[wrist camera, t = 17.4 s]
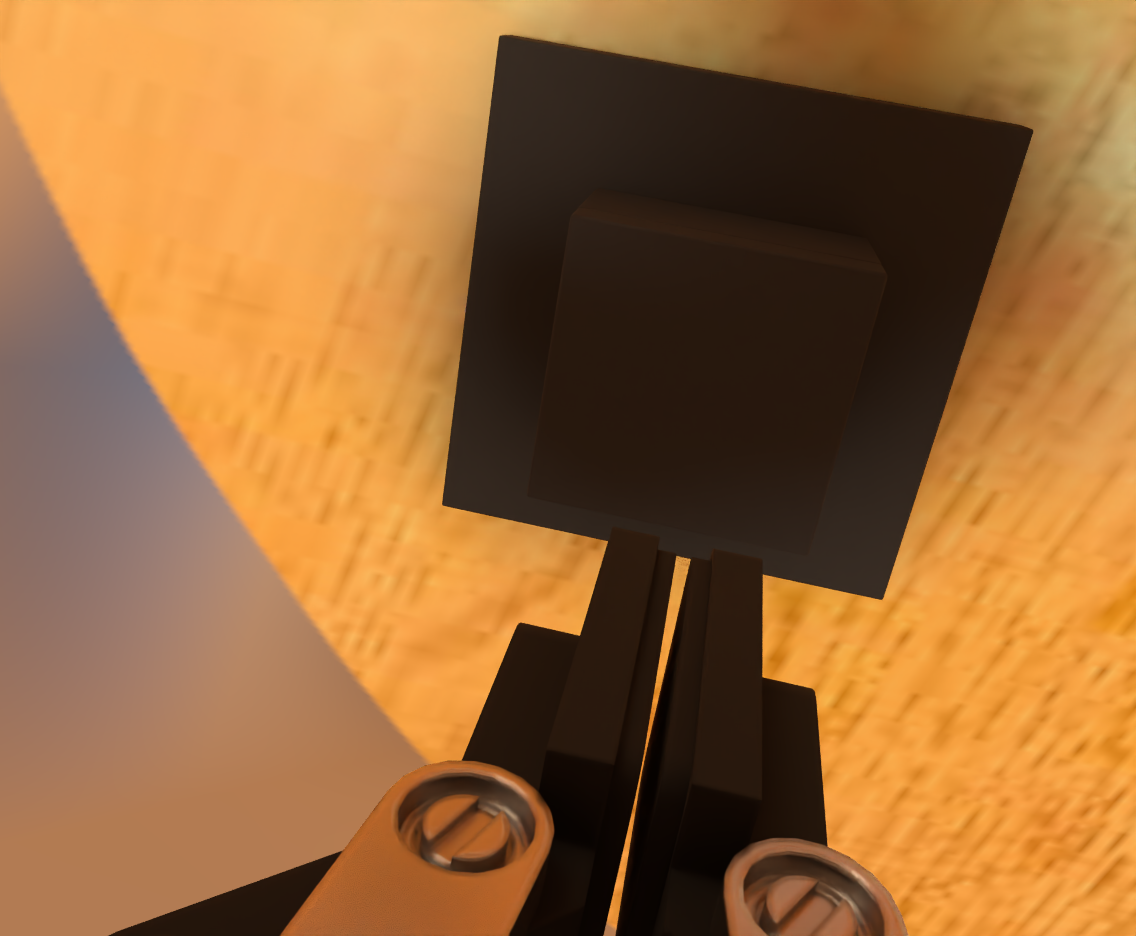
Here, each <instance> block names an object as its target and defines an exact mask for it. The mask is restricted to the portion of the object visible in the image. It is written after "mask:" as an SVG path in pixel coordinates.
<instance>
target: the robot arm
mask: <svg viewBox="0 0 1136 936" xmlns="http://www.w3.org/2000/svg"><path fill="white" fill-rule="evenodd" d="M659 540H660V537H659V536H654V535H650V534H645V533H640V532H636V531H631V530H627V529H622V528H617V527H613V528H612V531H611V534H610V537H609V541H608V544H607V547H606V551H605V554H604V558H603V561H602V564H601V568H600V571H599V574H598V578H597V581H596V584H595V588H594V591H593V594H592V598H591V601H590V604H589V608H588V611H587V614H586V618H585V621H584V624H583V628H582V631H581V635H580V636H578V635H574V634H569V633H565V632H560V631H556V630H552V629H547V628H543V627H538V626H534V625H529V624H525V623H519V624H518V625H517V627H516V629H515V631H514V634H513V636H512V639H511V641H510V644H509V646H508V649H507V651H506V654H505V656H504V658H503V661H502V663H501V666H500V668H499V671H498V673H497V676H496V678H495V680H494V683H493V685H492V688H491V690H490V693H489V695H488V698H487V700H486V702H485V705H484V707H483V710H482V712H481V715H480V717H479V720H478V722H477V725H476V727H475V729H474V732H473V734H472V737H471V739H470V742H469V744H468V747H467V749H466V751H465V754H464V756H463V759H462V761H445V762H440V763H435V764H430V765H425V766H423V767H421V768H419V769H417V770H415V771H413V772H411V773H408V774H407V775H404V776H403V777H402V778H401V779H400V780H399V781H398V782H397V783H395V785H393V786H392V787H391V788H390V789H389V790H388V791H387V793H386V794H385V795H384V797H383V798H382V799H381V801H380V802H379V803H378V805H377V806H376V807H375V809H374V810H373V811H372V813H371V814H370V815H369V817H368V818H367V819H366V821H365V822H364V823H363V825H362V826H361V827H360V829H359V830H358V831H357V833H356V834H355V835H354V837H353V838H352V839H351V841H350V842H349V844H348V845H347V846H346V847H345V849H344V850H343V851H340V852H338V853H335V854H332V855H329V856H326V857H324V858H321V859H318V860H315V861H313V862H310V863H307V864H304V865H301V866H299V867H296V868H294V869H291V870H288V871H285V872H282V873H279V874H277V875H273V876H271V877H268V878H265V879H262V880H260V881H257V882H254V883H251V884H248V885H246V886H243V887H240V888H237V889H235V890H232V891H229V892H226V893H223V894H220V895H218V896H215V897H212V898H210V899H207V900H204V901H201V902H198V903H196V904H193V905H190V906H187V907H184V908H182V909H179V910H176V911H173V912H170V913H167V914H165V915H162V916H159V917H156V918H154V919H151V920H148V921H145V922H143V923H140V924H137V925H134V926H131V927H128V928H126V929H123V930H120V931H118V932H115V933H113V934H111V935H109V936H603V935H604V931H605V926H606V922H607V918H608V913H609V909H610V905H611V900H612V896H613V892H614V887H615V883H616V878H617V874H618V870H619V865H620V861H621V857H622V852H623V848H624V844H625V839H626V835H627V831H628V826H629V822H630V818H631V813H632V809H633V805H634V800H635V796H636V791H637V786H638V781H639V776H640V771H641V766H642V761H643V755H644V750H645V744H646V738H647V731H648V725H649V719H650V713H651V707H652V701H653V695H654V689H655V683H656V676H657V670H658V664H659V658H660V652H661V646H662V640H663V634H664V628H665V622H666V615H667V609H668V603H669V597H670V591H671V585H672V579H673V573H674V567H675V560H676V554H677V553H672V552H668V551H663V550H659V549H658V545H659ZM762 598H763V562H762V559H760V558H756V557H751V556H747V555H742V554H737V553H733V552H728V551H724V550H719V549H714V548H713V550H712V553H711V557H710V561H709V560H705V559H700V558H695V557H692V558H691V561H690V565H689V569H688V574H687V578H686V582H685V587H684V591H683V595H682V600H681V604H680V608H679V613H678V617H677V621H676V626H675V630H674V634H673V639H672V643H671V647H670V652H669V656H668V660H667V665H666V669H665V673H664V678H663V682H662V686H661V691H660V695H659V699H658V704H657V708H656V712H655V717H654V721H653V725H652V730H651V734H650V738H649V743H648V747H647V752H646V756H645V761H644V766H643V771H642V776H641V782H640V788H639V794H638V800H637V806H636V813H635V819H634V825H633V831H632V837H631V843H630V850H629V856H628V862H627V868H626V874H625V880H624V887H623V893H622V899H621V905H620V911H619V917H618V924H617V930H616V936H908V933H907V930H906V927H905V924H904V921H903V918H902V915H901V914H900V912H899V910H898V908H897V906H896V904H895V902H894V900H893V898H892V896H891V894H890V893H889V892H888V891H887V890H886V889H885V887H884V886H883V885H882V884H881V883H880V882H879V881H878V880H877V878H876V877H875V876H874V875H873V874H872V873H871V872H869V871H868V870H866V869H865V868H864V867H862V866H861V865H860V864H858V863H857V862H856V861H854V860H853V859H851V858H850V857H848V856H846V855H844V854H842V853H840V852H838V851H836V850H833V849H831V848H829V847H828V846H827V833H826V820H825V807H824V794H823V781H822V768H821V755H820V742H819V729H818V716H817V703H816V696H815V691H814V690H813V689H811V688H807V687H803V686H798V685H794V684H789V683H785V682H781V681H776V680H772V679H767V678H763V677H762Z"/></svg>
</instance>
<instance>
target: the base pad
mask: <svg viewBox="0 0 1136 936" xmlns="http://www.w3.org/2000/svg"><path fill="white" fill-rule="evenodd" d="M1032 134H1033V130H1032V129H1030V128H1027V127H1024V126H1021V125H1017V124H1012V123H1006V122H1000V121H995V120H989V119H983V118H978V117H972V116H966V115H961V114H955V113H949V112H944V111H938V110H932V109H927V108H921V107H915V106H910V105H904V104H898V103H893V102H887V101H881V100H876V99H870V98H864V97H859V96H853V95H847V94H842V93H836V92H830V91H825V90H819V89H813V88H808V87H802V86H796V85H790V84H785V83H779V82H773V81H768V80H762V79H756V78H751V77H745V76H739V75H734V74H728V73H722V72H717V71H711V70H705V69H700V68H694V67H688V66H683V65H677V64H671V63H666V62H660V61H654V60H649V59H643V58H637V57H632V56H626V55H620V54H615V53H609V52H603V51H598V50H592V49H586V48H581V47H575V46H569V45H564V44H558V43H552V42H547V41H541V40H535V39H530V38H524V37H518V36H513V35H502V36H500V37H499V43H498V51H497V59H496V67H495V75H494V84H493V92H492V100H491V108H490V116H489V125H488V133H487V141H486V149H485V157H484V165H483V174H482V182H481V190H480V198H479V206H478V215H477V223H476V231H475V239H474V247H473V256H472V264H471V272H470V280H469V288H468V297H467V305H466V313H465V321H464V329H463V337H462V346H461V354H460V362H459V370H458V378H457V387H456V395H455V403H454V411H453V419H452V428H451V436H450V444H449V452H448V460H447V469H446V477H445V485H444V493H443V501H442V505H443V506H447V507H452V508H457V509H461V510H466V511H471V512H475V513H480V514H485V515H489V516H494V517H499V518H503V519H508V520H513V521H517V522H522V523H527V524H531V525H536V526H540V527H545V528H550V529H554V530H559V531H564V532H568V533H573V534H578V535H582V536H587V537H592V538H596V539H601V540H606V541H609V537H610V534H611V531H612V528H613V527H617V528H622V529H627V530H631V531H636V532H640V533H645V534H650V535H654V536H659V537H660V540H659V545H658V549H659V550H663V551H668V552H672V553H677V554H676V556H680V557H685V558H689V559H691V558H692V557H695V558H700V559H705V560H709V561H710V557H711V553H712V550H713V548H714V549H719V550H724V551H728V552H733V553H737V554H742V555H747V556H751V557H756V558H760V559H762V562H763V574H764V575H768V576H773V577H778V578H782V579H787V580H792V581H796V582H801V583H806V584H810V585H815V586H819V587H824V588H829V589H833V590H838V591H843V592H847V593H852V594H857V595H861V596H866V597H871V598H875V599H880V600H882V599H883V597H884V594H885V591H886V588H887V585H888V582H889V579H890V576H891V572H892V569H893V566H894V563H895V560H896V557H897V554H898V551H899V548H900V545H901V541H902V538H903V535H904V532H905V529H906V526H907V523H908V520H909V517H910V513H911V510H912V507H913V504H914V501H915V498H916V495H917V492H918V489H919V486H920V482H921V479H922V476H923V473H924V470H925V467H926V464H927V461H928V458H929V454H930V451H931V448H932V445H933V442H934V439H935V436H936V433H937V430H938V426H939V423H940V420H941V417H942V414H943V411H944V408H945V405H946V402H947V399H948V395H949V392H950V389H951V386H952V383H953V380H954V377H955V374H956V371H957V367H958V364H959V361H960V358H961V355H962V352H963V349H964V346H965V343H966V339H967V336H968V333H969V330H970V327H971V324H972V321H973V318H974V315H975V312H976V308H977V305H978V302H979V299H980V296H981V293H982V290H983V287H984V284H985V280H986V277H987V274H988V271H989V268H990V265H991V262H992V259H993V256H994V253H995V249H996V246H997V243H998V240H999V237H1000V234H1001V231H1002V228H1003V225H1004V221H1005V218H1006V215H1007V212H1008V209H1009V206H1010V203H1011V200H1012V197H1013V193H1014V190H1015V187H1016V184H1017V181H1018V178H1019V175H1020V172H1021V169H1022V166H1023V162H1024V159H1025V156H1026V153H1027V150H1028V147H1029V144H1030V141H1031V138H1032ZM597 188H602V189H607V190H612V191H618V192H623V193H628V194H634V195H639V196H644V197H650V198H655V199H660V200H666V201H671V202H677V203H682V204H687V205H693V206H698V207H703V208H709V209H714V210H719V211H725V212H730V213H735V214H741V215H746V216H751V217H757V218H762V219H767V220H773V221H778V222H783V223H789V224H794V225H799V226H805V227H810V228H815V229H821V230H826V231H831V232H837V233H842V234H847V235H853V236H858V237H863V238H866V239H868V241H869V243H870V245H871V246H872V248H873V250H874V252H875V253H876V255H877V257H878V259H879V260H880V262H881V264H882V267H883V268H884V270H885V272H886V274H887V281H886V284H885V288H884V291H883V295H882V298H881V302H880V305H879V309H878V312H877V316H876V319H875V323H874V326H873V330H872V334H871V337H870V341H869V344H868V348H867V351H866V355H865V358H864V362H863V365H862V369H861V372H860V376H859V379H858V383H857V386H856V390H855V393H854V397H853V401H852V404H851V408H850V411H849V415H848V418H847V422H846V425H845V429H844V432H843V436H842V439H841V443H840V446H839V450H838V453H837V457H836V461H835V464H834V468H833V471H832V475H831V478H830V482H829V485H828V489H827V492H826V496H825V499H824V503H823V506H822V510H821V513H820V517H819V520H818V524H817V528H816V531H815V535H814V538H813V542H812V545H811V549H810V552H809V554H808V556H802V555H797V554H793V553H788V552H783V551H779V550H774V549H769V548H764V547H760V546H755V545H750V544H746V543H741V542H736V541H732V540H727V539H722V538H717V537H713V536H708V535H703V534H699V533H694V532H689V531H685V530H680V529H675V528H671V527H666V526H661V525H656V524H652V523H647V522H642V521H638V520H633V519H628V518H624V517H619V516H614V515H609V514H605V513H600V512H595V511H591V510H586V509H581V508H577V507H572V506H567V505H562V504H558V503H553V502H548V501H544V500H539V499H534V498H530V497H528V496H527V490H528V483H529V477H530V471H531V464H532V458H533V452H534V445H535V439H536V432H537V426H538V420H539V413H540V407H541V401H542V394H543V388H544V382H545V375H546V369H547V362H548V356H549V350H550V343H551V337H552V331H553V324H554V318H555V312H556V305H557V299H558V293H559V286H560V280H561V273H562V267H563V261H564V254H565V248H566V242H567V235H568V229H569V223H570V217H571V215H572V214H573V213H574V212H575V211H576V210H577V209H578V208H579V206H580V205H581V204H582V203H583V202H584V201H585V200H586V199H587V198H588V197H589V196H590V195H591V194H592V193H593V192H594V191H595V190H596V189H597Z"/></svg>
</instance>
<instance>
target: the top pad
mask: <svg viewBox="0 0 1136 936" xmlns="http://www.w3.org/2000/svg"><path fill="white" fill-rule="evenodd" d="M886 281H887V274H886V272H885V270H884V268H883V267H882V264H881V262H880V260H879V259H878V257H877V255H876V253H875V252H874V250H873V248H872V246H871V245H870V243H869V241H868V239H866V238H863V237H858V236H853V235H847V234H842V233H837V232H831V231H826V230H821V229H815V228H810V227H805V226H799V225H794V224H789V223H783V222H778V221H773V220H767V219H762V218H757V217H751V216H746V215H741V214H735V213H730V212H725V211H719V210H714V209H709V208H703V207H698V206H693V205H687V204H682V203H677V202H671V201H666V200H660V199H655V198H650V197H644V196H639V195H634V194H628V193H623V192H618V191H612V190H607V189H602V188H597V189H596V190H595V191H594V192H593V193H592V194H591V195H590V196H589V197H588V198H587V199H586V200H585V201H584V202H583V203H582V204H581V205H580V206H579V208H578V209H577V210H576V211H575V212H574V213H573V214H572V215H571V217H570V223H569V229H568V235H567V242H566V248H565V254H564V261H563V267H562V273H561V280H560V286H559V293H558V299H557V305H556V312H555V318H554V324H553V331H552V337H551V343H550V350H549V356H548V362H547V369H546V375H545V382H544V388H543V394H542V401H541V407H540V413H539V420H538V426H537V432H536V439H535V445H534V452H533V458H532V464H531V471H530V477H529V483H528V490H527V496H528V497H530V498H534V499H539V500H544V501H548V502H553V503H558V504H562V505H567V506H572V507H577V508H581V509H586V510H591V511H595V512H600V513H605V514H609V515H614V516H619V517H624V518H628V519H633V520H638V521H642V522H647V523H652V524H656V525H661V526H666V527H671V528H675V529H680V530H685V531H689V532H694V533H699V534H703V535H708V536H713V537H717V538H722V539H727V540H732V541H736V542H741V543H746V544H750V545H755V546H760V547H764V548H769V549H774V550H779V551H783V552H788V553H793V554H797V555H802V556H808V554H809V552H810V549H811V545H812V542H813V538H814V535H815V531H816V528H817V524H818V520H819V517H820V513H821V510H822V506H823V503H824V499H825V496H826V492H827V489H828V485H829V482H830V478H831V475H832V471H833V468H834V464H835V461H836V457H837V453H838V450H839V446H840V443H841V439H842V436H843V432H844V429H845V425H846V422H847V418H848V415H849V411H850V408H851V404H852V401H853V397H854V393H855V390H856V386H857V383H858V379H859V376H860V372H861V369H862V365H863V362H864V358H865V355H866V351H867V348H868V344H869V341H870V337H871V334H872V330H873V326H874V323H875V319H876V316H877V312H878V309H879V305H880V302H881V298H882V295H883V291H884V288H885V284H886Z"/></svg>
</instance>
